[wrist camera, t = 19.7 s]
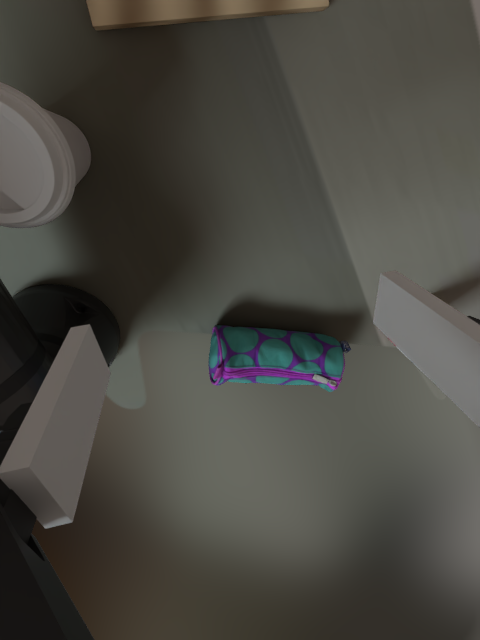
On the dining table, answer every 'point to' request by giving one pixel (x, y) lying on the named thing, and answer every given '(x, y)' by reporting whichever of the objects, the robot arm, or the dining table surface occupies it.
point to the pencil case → (275, 357)
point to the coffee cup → (37, 161)
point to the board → (189, 11)
